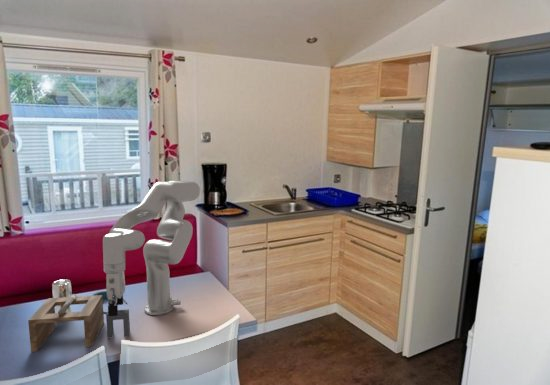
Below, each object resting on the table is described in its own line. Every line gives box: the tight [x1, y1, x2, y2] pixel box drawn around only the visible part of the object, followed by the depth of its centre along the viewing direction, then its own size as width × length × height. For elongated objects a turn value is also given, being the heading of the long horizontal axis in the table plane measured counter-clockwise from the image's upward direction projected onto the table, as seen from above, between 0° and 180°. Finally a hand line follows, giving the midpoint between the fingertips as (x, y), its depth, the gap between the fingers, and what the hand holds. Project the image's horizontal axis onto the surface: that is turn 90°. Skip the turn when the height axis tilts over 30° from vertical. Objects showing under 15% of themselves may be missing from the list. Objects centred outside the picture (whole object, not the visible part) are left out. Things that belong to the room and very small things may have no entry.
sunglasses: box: [90, 290, 128, 314], centre depth 172 cm, size 14×15×5 cm
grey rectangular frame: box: [105, 309, 131, 339], centre depth 146 cm, size 8×3×9 cm, turn 101°
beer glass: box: [51, 279, 73, 313], centre depth 160 cm, size 7×7×15 cm
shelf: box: [27, 293, 105, 353], centre depth 144 cm, size 20×18×14 cm
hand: (115, 309), depth 145 cm, fingers open, 9 cm apart
